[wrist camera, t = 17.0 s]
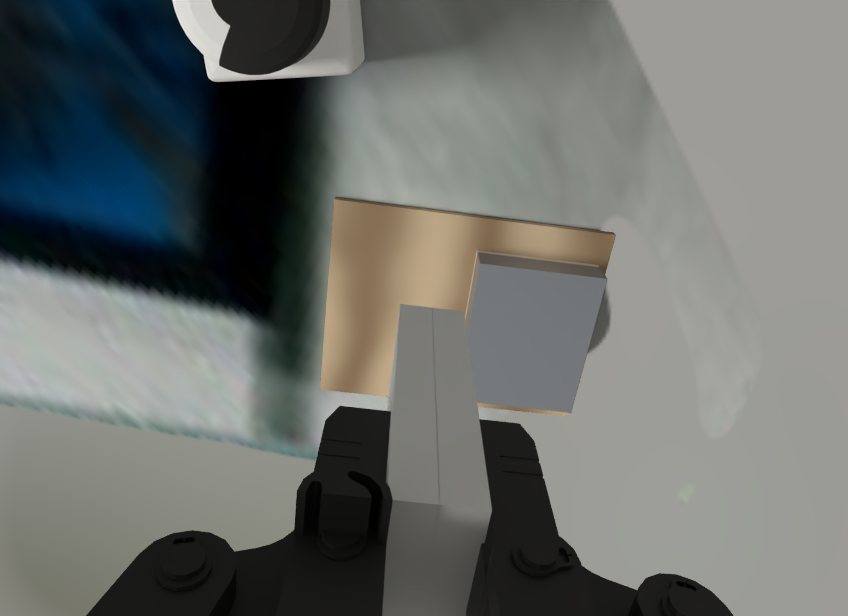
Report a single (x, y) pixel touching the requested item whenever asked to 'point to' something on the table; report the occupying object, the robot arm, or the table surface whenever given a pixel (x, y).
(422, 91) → the table surface
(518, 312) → the tile
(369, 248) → the mat
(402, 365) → the robot arm
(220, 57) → the medicine bottle
